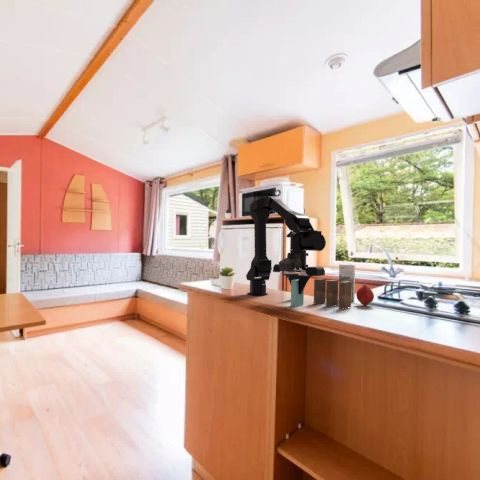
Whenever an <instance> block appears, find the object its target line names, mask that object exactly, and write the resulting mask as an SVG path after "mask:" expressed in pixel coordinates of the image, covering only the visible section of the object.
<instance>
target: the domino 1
mask: <svg viewBox="0 0 480 480" xmlns="http://www.w3.org/2000/svg"><path fill="white" fill-rule="evenodd" d="M298 288H299V279H297V280H291V284H290V306H291V307H301V306H304V298H305V297H304V296H305V295H304V294H305V293H304V292H305V291H304V290H305V289H304V290H303V292H302V294H299V291H298Z"/></svg>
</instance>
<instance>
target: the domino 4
mask: <svg viewBox="0 0 480 480" xmlns="http://www.w3.org/2000/svg"><path fill="white" fill-rule="evenodd" d="M348 307H351V308H352V301H351V282H349V281H344V282H339V281H338V309H340V308H344V309H343V310H346V309H345V308H347V309H349V308H348Z"/></svg>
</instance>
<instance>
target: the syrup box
mask: <svg viewBox="0 0 480 480" xmlns="http://www.w3.org/2000/svg"><path fill="white" fill-rule="evenodd" d="M355 280H356V264H355V263H344V262H343V263H341V262H340V263H339V264H338V283H339V282H344V281H349V282H351V302H354V301H355V285H356V284H355V282H356V281H355Z"/></svg>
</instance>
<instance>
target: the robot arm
mask: <svg viewBox="0 0 480 480" xmlns="http://www.w3.org/2000/svg"><path fill="white" fill-rule="evenodd" d="M272 211H274V213H276V214H277V215H278V216H280V218H282V219H283V221H284V225H285V226H286V227H287V229H288V230H289V233H287V234H286V238H289V239H290V241H289V242H290V243H289V245H290V246H289V249H290V250H289V252H287V256H286V258H285V257H284V258H283V259H281V260H280V261H278V263H275V264H274V265H273V266H272V264H273V263H272V259H269V258H268V256H267V221H268V220H269V217H270V215H271V214H270V213H271V212H272ZM249 214H250V217H251V219H252V221H253V223H254V231H253V232H254V257H253V258H252V260H251V263H250V268H249V270H247V273H246V274H245V277H246V280H247V281H249V292H246V294H247V295H252V296H258V297H261V296H267V295H268V294H269V293H268V292H267V284H266V283H267V281H269V280H270V277H271V273H272V272H273V273H281V272H284V273H283V276H285V277H286V278H287V280H288V281H289V285H291V280H297V279H299V288H298V291H299V294H302V292H303V290H305V287H306V286H307V284H308V281H309V280H310V278H311V277H321V276H326V270H325V268H324V266H309V264H307V257H309V252H310V251H312V252H321V251H323V250H324V249H325V248H326V243H327V241H326V238H325V236H324V235H323V234H322V230H315V229H314V227H313V225H312V223H311V221H310V217H309V216H307V215H305V214H303V213H301V212H298V211H294V210H293V209H292V208H290V207H289V206H288V205H287V204H285V203H284V202H283V201H282V200H280V199H279V197H278V196H273V195H272V196H271V195H267V196H265V197H263V198H259V199H257V200H253V201H252V202H251V203H250V205H249ZM307 251H309V252H307ZM272 267H273V268H272Z"/></svg>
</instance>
